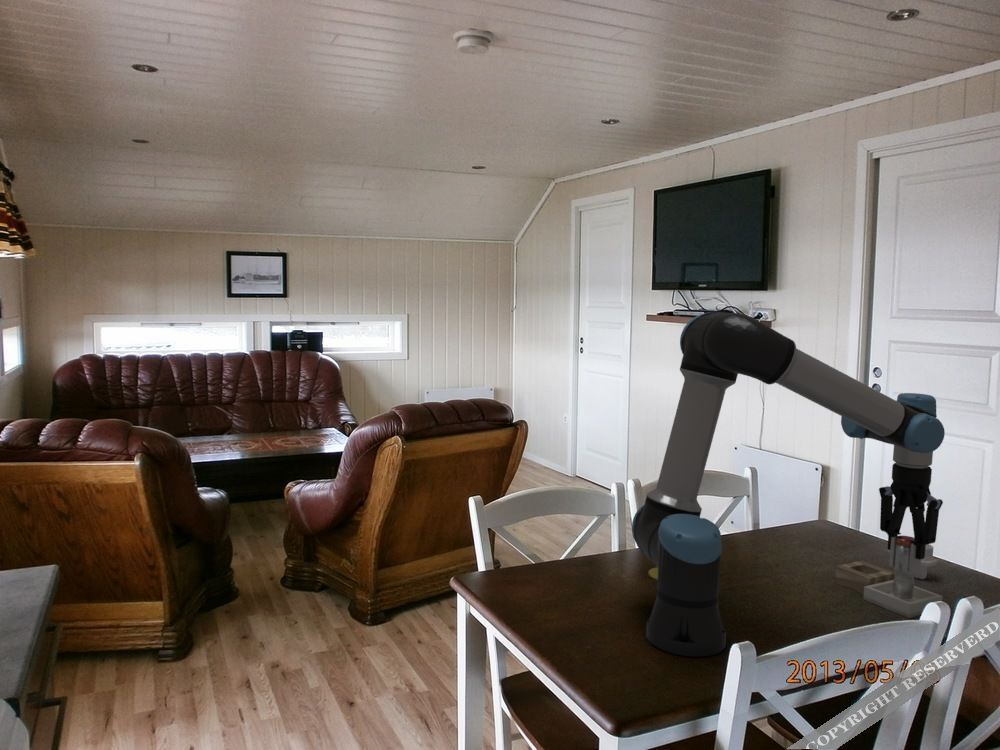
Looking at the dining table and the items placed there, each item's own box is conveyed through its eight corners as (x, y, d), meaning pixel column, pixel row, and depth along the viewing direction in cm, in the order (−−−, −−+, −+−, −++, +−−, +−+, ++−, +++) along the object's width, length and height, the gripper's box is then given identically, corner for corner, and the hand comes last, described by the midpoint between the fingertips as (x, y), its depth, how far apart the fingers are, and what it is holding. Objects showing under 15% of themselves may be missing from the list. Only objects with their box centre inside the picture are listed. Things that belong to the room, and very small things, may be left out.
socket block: (868, 595, 170) (869, 578, 170) (834, 582, 178) (835, 566, 178) (894, 589, 174) (895, 572, 174) (860, 576, 182) (861, 560, 182)
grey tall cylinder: (905, 600, 162) (909, 542, 161) (888, 593, 166) (892, 536, 165) (916, 597, 164) (921, 539, 163) (900, 590, 168) (904, 534, 167)
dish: (909, 618, 158) (910, 604, 158) (863, 599, 168) (864, 586, 167) (941, 609, 163) (942, 596, 163) (895, 591, 173) (896, 579, 172)
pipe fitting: (898, 575, 183) (900, 544, 182) (912, 570, 187) (914, 539, 187) (925, 583, 178) (928, 551, 177) (939, 577, 182) (941, 545, 182)
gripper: (961, 471, 156) (953, 579, 159) (887, 455, 172) (880, 554, 174) (939, 474, 153) (931, 584, 155) (865, 458, 168) (859, 559, 170)
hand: (904, 568), depth 165 cm, fingers closed on grey tall cylinder, 4 cm apart
